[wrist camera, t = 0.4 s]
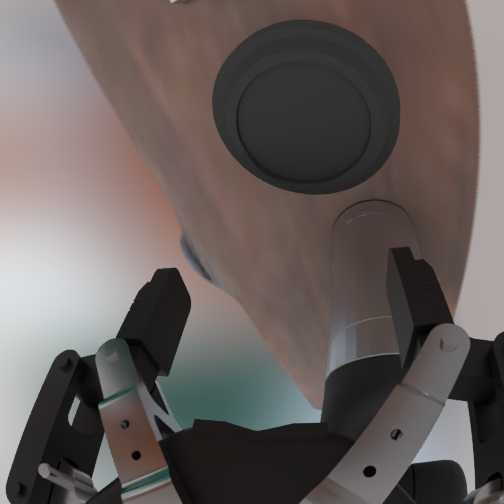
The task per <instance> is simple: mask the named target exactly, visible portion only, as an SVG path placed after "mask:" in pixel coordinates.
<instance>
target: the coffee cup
mask: <svg viewBox="0 0 504 504" xmlns="http://www.w3.org/2000/svg"><path fill="white" fill-rule="evenodd" d="M212 107H213V115H214V120H215V124H216V127H217V130H218V132H219V135H220V137H221V139H222V141H223V142H224V144H225V146H226V147H227V149H228V150H229V152H230V153H231V154H232V155H233V157H234V158H235V159H236V160H237V161H238V162H239V163H240V164H241V165H242V166H243V167H244V168H245V169H247V170H248V171H249V172H250V173H252V174H253V175H255V176H256V177H258V178H259V179H261V180H263V181H265V182H267V183H269V184H271V185H273V186H275V187H278V188H281V189H284V190H287V191H291V192H296V193H302V194H330V193H336V192H340V191H344V190H347V189H350V188H352V187H355V186H357V185H359V184H361V183H363V182H364V181H366V180H367V179H369V178H370V177H371V176H373V175H374V174H375V173H376V172H377V171H378V170H379V169H380V168H381V167H382V166H383V165H384V163H385V162H386V161H387V159H388V158H389V156H390V154H391V153H392V151H393V148H394V146H395V144H396V141H397V137H398V132H399V125H400V100H399V94H398V89H397V86H396V83H395V80H394V77H393V75H392V73H391V71H390V69H389V68H388V66H387V64H386V63H385V61H384V60H383V59H382V57H381V56H380V55H379V54H378V53H377V51H376V50H375V49H374V48H373V47H372V46H370V45H369V44H368V43H367V42H366V41H364V40H363V39H362V38H360V37H359V36H357V35H356V34H354V33H352V32H350V31H348V30H346V29H344V28H342V27H339V26H336V25H333V24H330V23H326V22H321V21H313V20H293V21H286V22H281V23H277V24H274V25H271V26H268V27H266V28H263V29H261V30H259V31H257V32H256V33H254V34H252V35H251V36H249V37H248V38H247V39H245V40H244V41H243V42H242V43H241V44H240V45H239V46H238V47H237V48H236V49H235V50H234V51H233V52H232V53H231V54H230V55H229V57H228V58H227V59H226V61H225V62H224V64H223V65H222V67H221V69H220V71H219V73H218V75H217V78H216V81H215V85H214V89H213V97H212Z"/></svg>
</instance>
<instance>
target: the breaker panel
mask: <svg viewBox="0 0 504 504" xmlns="http://www.w3.org/2000/svg"><path fill="white" fill-rule="evenodd" d="M188 1H190V0H170V2H171V3H186V2H188Z"/></svg>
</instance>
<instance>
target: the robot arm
mask: <svg viewBox="0 0 504 504" xmlns="http://www.w3.org/2000/svg"><path fill="white" fill-rule="evenodd" d="M190 309H191V299H190V295H189V293H188V291H187V288H186V286H185V284H184V282H183V280H182V277H181V275H180V273H179V271H178V269H177V268H163V269H157V270H156V272H155V273H154V275H153V277H152V280H151V281H150V282H147V283H146V284H145V285H144V286H143V287H142V288H141V289H140V290H139V292H138V294H137V296H136V298H135V299H134V303H133V304H132V305H131V307H130V311H129V312H128V314H127V315H126V318H125V320H124V322H123V324H122V326H121V328H120V330H119V332H118V334H117V336H116V338H114V339H111V340H108V341H107V342H105V343H104V344H103V345H102V346H101V347H100V348H99V350H98V351H97V353H96V354H94V355H90V356H86V357H80V356H79V355H78V353H77V352H76V351H74V350H66V351H64V352H62V353H60V354H59V355H58V356H57V357H56V358H55V360H54V362H53V364H52V366H51V368H50V370H49V372H48V374H47V376H46V379H45V381H44V383H43V385H42V388H41V390H40V393H39V395H38V397H37V399H36V402H35V404H34V407H33V409H32V411H31V414H30V416H29V419H28V422H27V424H26V427H25V429H24V432H23V435H22V437H21V440H20V443H19V446H18V449H17V452H16V455H15V458H14V461H13V464H12V467H11V470H10V473H9V476H8V480H7V483H6V495H7V498H8V500H9V502H10V503H11V504H504V332H502V333H500V334H499V335H498V336H497V337H496V338H495V340H494V341H488V340H480V339H473V338H470V337H469V336H468V334H467V333H466V331H465V330H463V329H462V328H461V327H459V326H457V325H455V324H454V322H453V319H452V316H451V313H450V311H449V308H448V305H447V302H446V300H445V297H444V295H443V292H442V290H441V287H440V285H439V282H438V281H437V277H436V275H435V272H434V270H433V268H432V267H431V266H430V265H429V264H428V263H427V262H426V261H425V260H424V259H421V255H420V251H419V246H418V243H417V239H416V235H415V232H414V228H413V225H412V222H411V220H410V218H409V216H408V215H407V214H406V212H405V211H404V210H402V209H401V208H400V207H398V206H396V205H394V204H392V203H389V202H385V201H366V202H362V203H359V204H356V205H354V206H352V207H350V208H348V209H347V210H346V211H345V212H343V213H342V214H341V215H340V217H339V218H338V219H337V221H336V223H335V225H334V227H333V233H332V275H331V304H330V325H329V341H328V358H327V371H326V382H325V391H324V401H323V408H322V414H321V422H320V423H297V424H296V423H293V424H289V425H284V426H280V427H276V428H271V429H266V430H261V431H254V430H250V429H247V428H244V427H241V426H237V425H234V424H231V423H228V422H225V421H212V420H200V419H195V420H194V424H193V427H191V428H187V429H183V430H182V429H181V428H180V427H179V425H178V424H177V422H176V421H175V419H174V417H173V415H172V413H171V411H170V408H169V406H168V404H167V402H166V399H165V397H164V395H163V393H162V390H161V388H160V385H159V384H158V382H156V378H157V376H167V377H168V375H169V372H170V369H171V366H172V363H173V360H174V357H175V354H176V351H177V348H178V345H179V342H180V339H181V336H182V333H183V330H184V327H185V324H186V321H187V318H188V315H189V313H190ZM75 397H77V398H78V399H79V400H80V404H79V407H78V409H77V412H76V415H75V417H74V420H73V423H72V426H71V425H70V424H69V421H68V414H69V411H70V409H71V406H72V403H73V401H74V398H75ZM447 399H453V400H462V401H467V403H468V409H469V416H470V424H471V432H472V441H473V453H474V467H475V490H474V491H472V492H471V493H470V494H469V495H467V483H466V479H465V475H464V472H463V470H462V468H461V467H460V465H459V464H458V463H456V462H454V461H452V460H439V461H431V462H423V463H414V464H411V463H412V461H413V460H414V458H415V457H416V455H417V453H418V452H419V450H420V449H421V447H422V445H423V444H424V442H425V440H426V439H427V437H428V435H429V434H430V432H431V430H432V428H433V427H434V425H435V423H436V421H437V419H438V418H439V416H440V414H441V412H442V410H443V408H444V405H445V402H446V400H447ZM104 432H105V434H106V438H107V441H108V445H109V448H110V451H111V455H112V458H113V461H114V464H115V467H116V470H117V473H118V476H119V477H118V478H116V479H115V480H114V481H113V482H111V483H110V484H108V485H107V486H106V487H105V488H103V489H102V490H101V491H99V492H97V489H96V488H94V487H93V482H92V480H91V479H92V475H93V471H94V467H95V464H96V460H97V456H98V453H99V449H100V446H101V442H102V439H103V436H104ZM410 464H411V465H410Z"/></svg>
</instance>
